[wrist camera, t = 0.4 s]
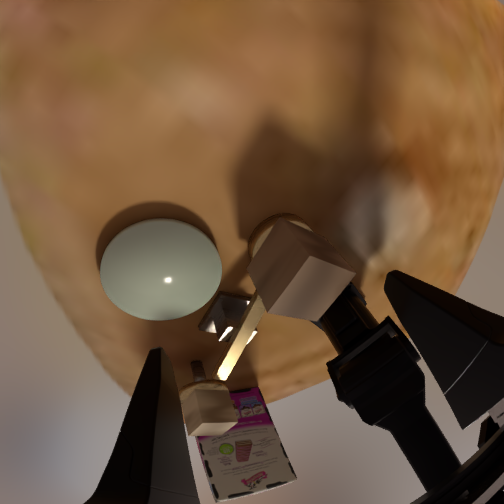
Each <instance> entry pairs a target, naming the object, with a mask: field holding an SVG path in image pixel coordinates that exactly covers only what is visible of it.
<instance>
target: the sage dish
mask: <svg viewBox="0 0 504 504" xmlns="http://www.w3.org/2000/svg"><path fill="white" fill-rule="evenodd" d="M221 275H222V265H221V260H220V257H219V254H218V251H217V249H216V247H215V245H214V243H213V242H212V241H211V240H210V238H209V237H208V236H207V235H206V234H205V233H204V232H202V231H201V230H199V229H198V228H196V227H194V226H192V225H191V224H188V223H185V222H183V221H179V220H174V219H166V218H155V219H148V220H144V221H140V222H137V223H135V224H132V225H130V226H128V227H126V228H125V229H123V230H122V231H120V232H119V233H118V234H117V235H116V236H115V237H114V238H113V239H112V240H111V241H110V243H109V244H108V245H107V247H106V249H105V251H104V254H103V257H102V261H101V267H100V278H101V283H102V286H103V289H104V291H105V293H106V294H107V296H108V297H109V299H110V300H111V301H112V302H113V303H114V304H115V305H116V306H117V307H119V308H120V309H121V310H123V311H125V312H126V313H128V314H130V315H133V316H135V317H138V318H142V319H147V320H159V321H160V320H171V319H176V318H180V317H183V316H186V315H188V314H191V313H193V312H195V311H196V310H198V309H199V308H201V307H202V306H204V305H205V304H206V303H207V302H208V301H209V300H210V299H211V298H212V296H213V295H214V294H215V292H216V290H217V288H218V286H219V284H220V280H221Z"/></svg>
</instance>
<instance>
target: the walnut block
mask: <svg viewBox="0 0 504 504" xmlns="http://www.w3.org/2000/svg"><path fill="white" fill-rule="evenodd" d="M247 271H248V273H249V275H250V277H251V279H252V281H253V283H254V285H255V288H256V290H257V292H258V294H259V296H260V298H261V300H262V303H263V305H264V307H265V309H266V311H267V313H271V314H276V315H282V316H288V317H293V318H299V319H305V320H311V321H318V320H319V318H320V317H321V316H322V315H323V314H324V313H325V311H326V310H327V309H328V308H329V307H330V306H331V304H332V303H333V302H334V301H335V300H336V298H337V297H338V296H339V295H340V294H341V292H342V291H343V290H344V289H345V287H346V286H347V285H348V284H349V282H350V281H351V280H352V279H353V277H354V276H355V275H356V272H355V271H354V270H353V269H352V268H351V267H350V266H349V264H348V263H347V262H346V261H345V260H344V259H343V258H342V256H341V255H340V254H339V253H338V252H337V251H336V250H335V249H334V247H333V246H332V245H331V244H330V243H329V242H328V241H327V240H326V239H325V238H324V237H323V236H320V235H318V234H316V233H314V232H312V231H309V230H307V229H305V228H303V227H301V226H298V225H296V224H294V223H292V222H290V221H287V220H285V219H283V218H281V217H279V219H278V220H277V222H276V223H275V225H274V226H273V228H272V229H271V231H270V233H269V234H268V236H267V237H266V239H265V240H264V242H263V243H262V245H261V247H260V248H259V250H258V251H257V253H256V254H255V256H254V257H253V259H252V261H251V262H250V264H249V265H248V267H247Z"/></svg>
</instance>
